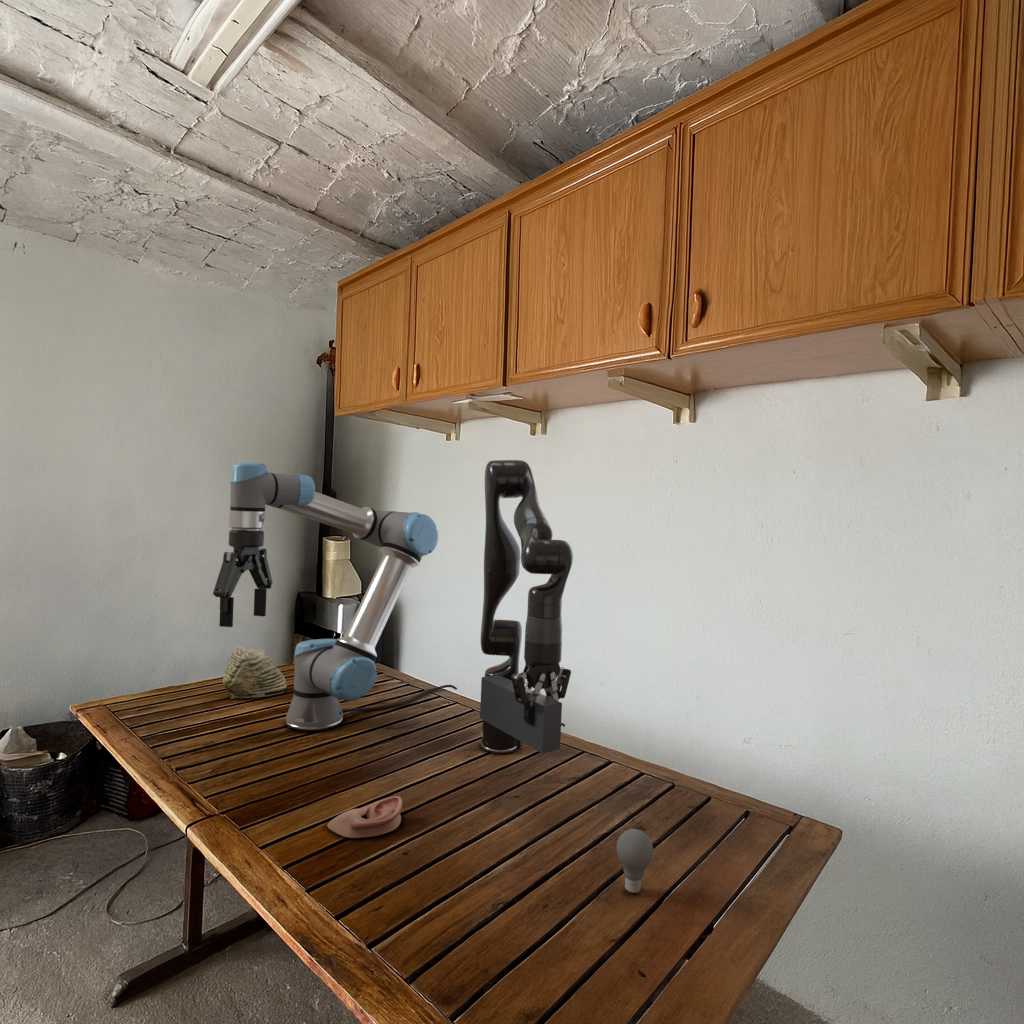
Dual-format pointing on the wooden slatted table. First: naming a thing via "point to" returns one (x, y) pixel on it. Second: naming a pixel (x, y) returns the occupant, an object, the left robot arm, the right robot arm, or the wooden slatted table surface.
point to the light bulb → (634, 857)
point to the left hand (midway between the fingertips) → (243, 621)
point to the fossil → (252, 674)
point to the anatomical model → (369, 819)
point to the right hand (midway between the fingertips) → (539, 721)
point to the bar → (520, 714)
